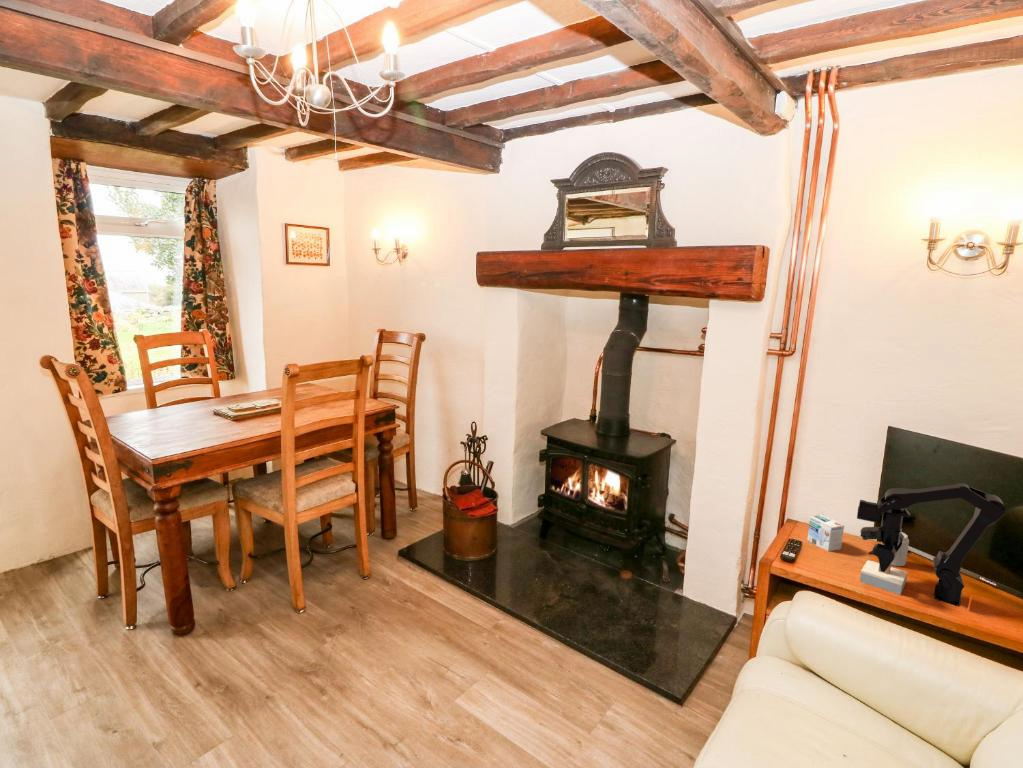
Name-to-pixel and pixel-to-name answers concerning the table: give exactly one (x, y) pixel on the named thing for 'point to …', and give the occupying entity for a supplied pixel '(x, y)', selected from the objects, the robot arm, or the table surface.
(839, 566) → the table surface
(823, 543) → the light bulb box
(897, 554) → the can
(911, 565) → the table surface
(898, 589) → the box
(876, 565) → the lid
